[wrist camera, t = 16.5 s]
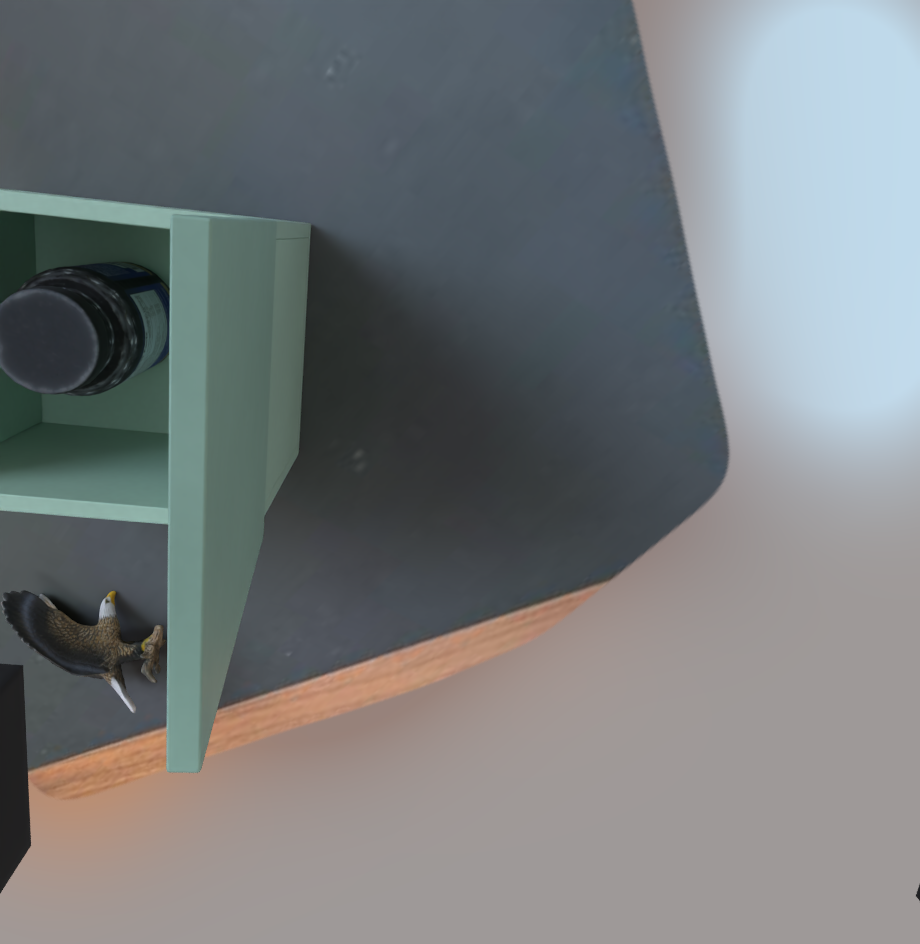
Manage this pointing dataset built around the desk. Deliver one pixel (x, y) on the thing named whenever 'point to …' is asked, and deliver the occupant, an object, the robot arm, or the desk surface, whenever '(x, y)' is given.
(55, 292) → the pill bottle
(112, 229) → the box
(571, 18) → the desk surface
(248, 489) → the lid
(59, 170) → the desk surface
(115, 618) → the eagle figurine
